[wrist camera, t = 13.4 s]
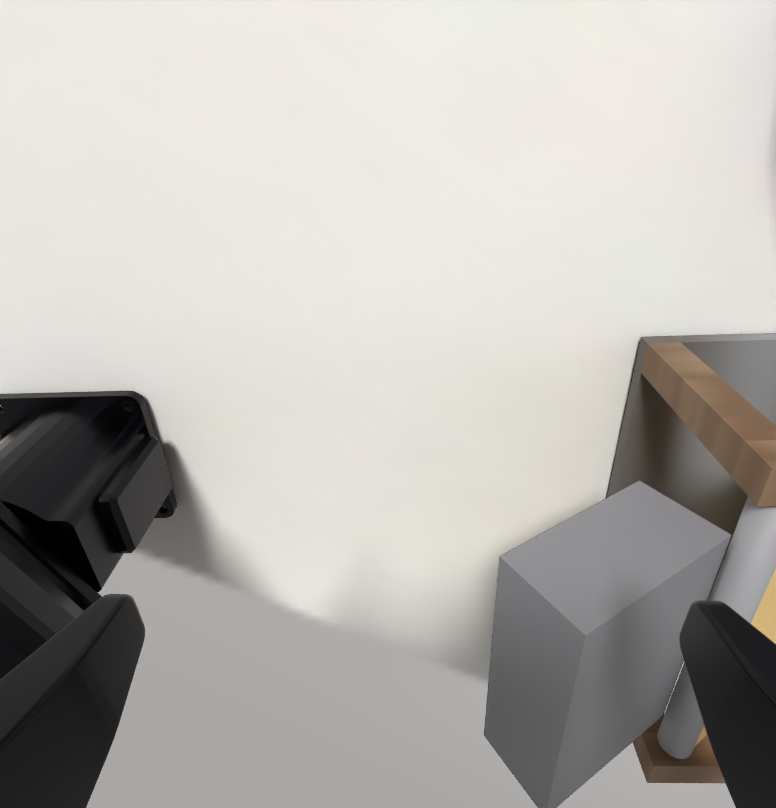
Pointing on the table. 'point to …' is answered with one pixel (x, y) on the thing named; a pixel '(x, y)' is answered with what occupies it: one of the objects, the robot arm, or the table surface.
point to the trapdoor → (612, 632)
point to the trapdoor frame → (699, 459)
